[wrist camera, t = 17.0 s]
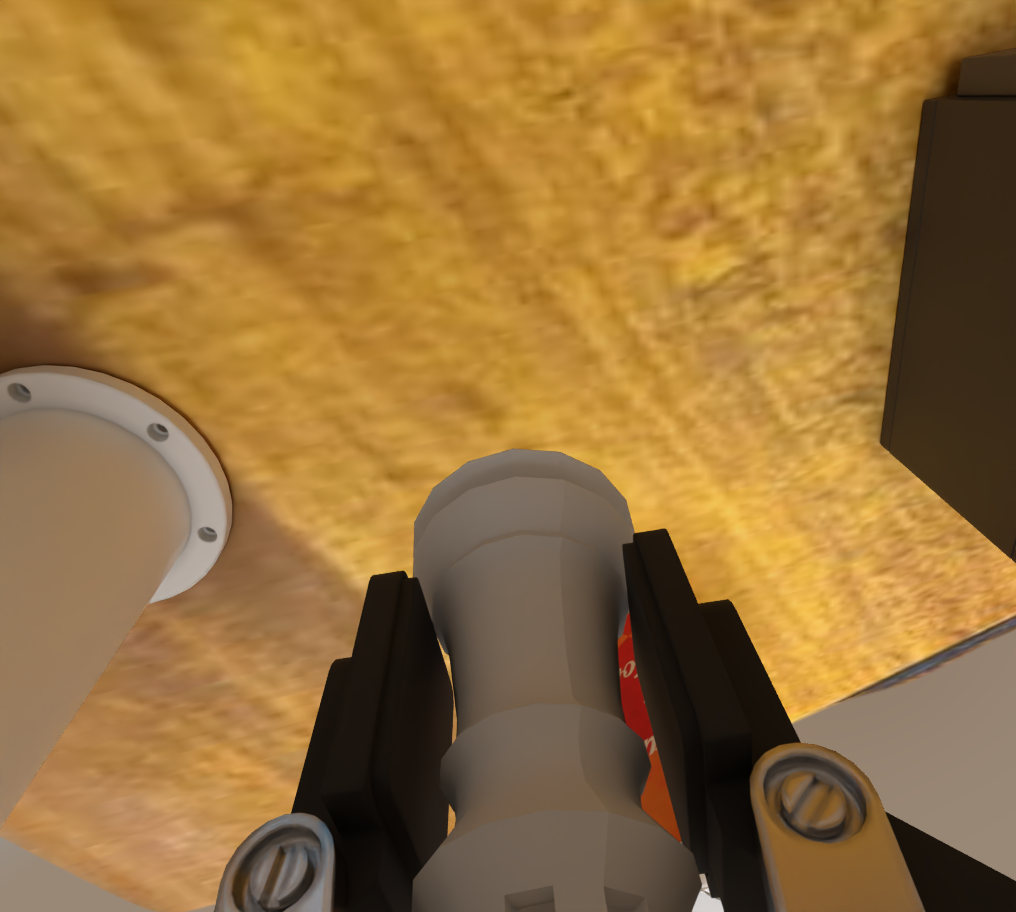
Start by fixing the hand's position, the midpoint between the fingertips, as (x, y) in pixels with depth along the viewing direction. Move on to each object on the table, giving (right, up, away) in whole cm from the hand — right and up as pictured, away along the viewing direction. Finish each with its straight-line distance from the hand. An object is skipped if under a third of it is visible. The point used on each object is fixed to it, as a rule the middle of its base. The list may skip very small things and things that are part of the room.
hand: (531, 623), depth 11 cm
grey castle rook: (0, +1, +2) cm, 3 cm away
